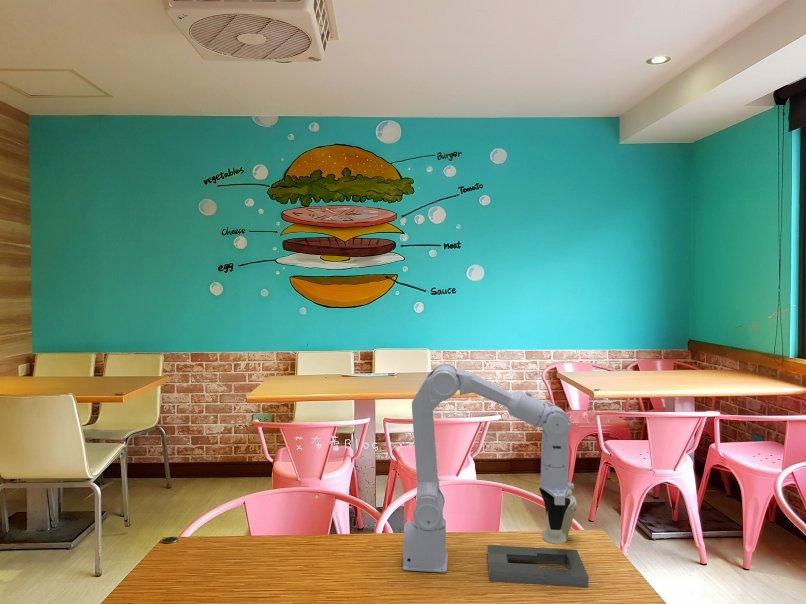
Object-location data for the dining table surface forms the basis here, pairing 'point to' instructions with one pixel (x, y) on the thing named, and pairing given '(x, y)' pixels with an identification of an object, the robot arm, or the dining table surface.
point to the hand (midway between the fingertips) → (554, 525)
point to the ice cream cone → (569, 513)
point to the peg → (553, 535)
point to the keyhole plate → (535, 566)
